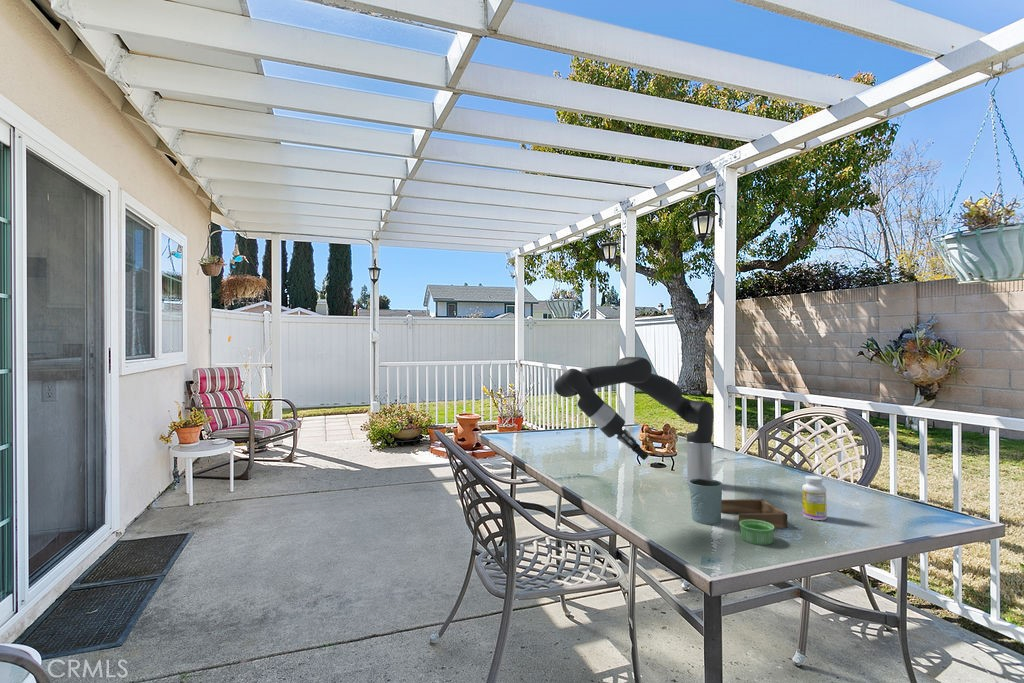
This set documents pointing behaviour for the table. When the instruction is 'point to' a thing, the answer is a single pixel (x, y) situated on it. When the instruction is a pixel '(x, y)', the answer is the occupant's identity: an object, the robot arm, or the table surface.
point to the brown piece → (755, 511)
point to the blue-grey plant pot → (706, 500)
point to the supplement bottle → (814, 498)
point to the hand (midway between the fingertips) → (645, 457)
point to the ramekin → (757, 531)
